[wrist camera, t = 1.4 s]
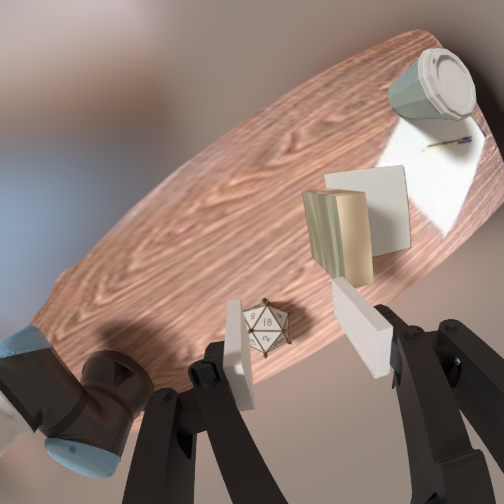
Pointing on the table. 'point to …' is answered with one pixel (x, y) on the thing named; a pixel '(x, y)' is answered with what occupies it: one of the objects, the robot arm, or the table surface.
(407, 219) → the mat
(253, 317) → the game die
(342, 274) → the wooden block
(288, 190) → the table surface
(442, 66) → the disposable coffee cup
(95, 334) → the table surface
